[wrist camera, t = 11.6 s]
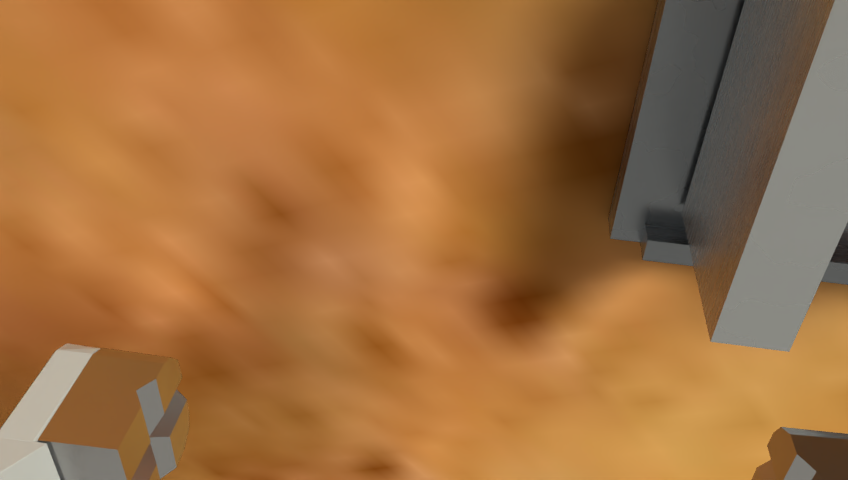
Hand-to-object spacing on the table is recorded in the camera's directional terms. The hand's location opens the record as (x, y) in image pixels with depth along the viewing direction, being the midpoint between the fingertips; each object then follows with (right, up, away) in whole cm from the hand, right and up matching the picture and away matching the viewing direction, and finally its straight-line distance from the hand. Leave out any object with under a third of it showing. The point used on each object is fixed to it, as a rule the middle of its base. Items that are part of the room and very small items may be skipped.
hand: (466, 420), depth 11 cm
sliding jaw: (+9, +8, +11) cm, 16 cm away
